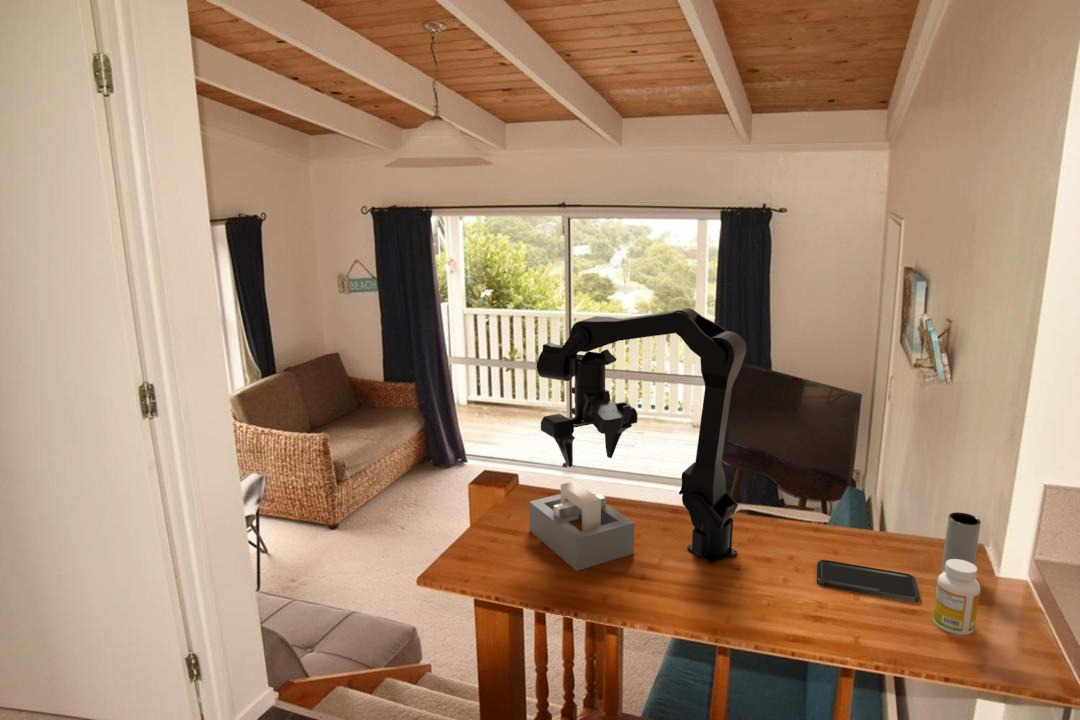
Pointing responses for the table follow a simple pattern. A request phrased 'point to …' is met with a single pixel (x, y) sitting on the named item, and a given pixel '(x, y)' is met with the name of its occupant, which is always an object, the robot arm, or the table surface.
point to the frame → (582, 534)
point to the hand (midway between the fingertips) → (589, 461)
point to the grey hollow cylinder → (961, 538)
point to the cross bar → (572, 509)
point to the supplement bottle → (957, 597)
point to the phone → (867, 580)
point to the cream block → (582, 504)
